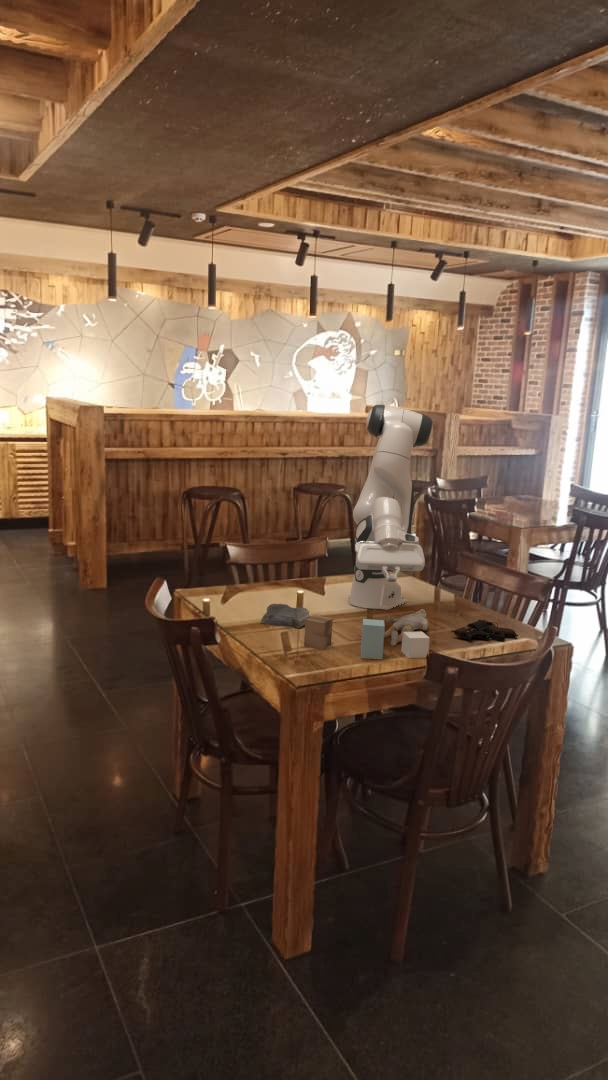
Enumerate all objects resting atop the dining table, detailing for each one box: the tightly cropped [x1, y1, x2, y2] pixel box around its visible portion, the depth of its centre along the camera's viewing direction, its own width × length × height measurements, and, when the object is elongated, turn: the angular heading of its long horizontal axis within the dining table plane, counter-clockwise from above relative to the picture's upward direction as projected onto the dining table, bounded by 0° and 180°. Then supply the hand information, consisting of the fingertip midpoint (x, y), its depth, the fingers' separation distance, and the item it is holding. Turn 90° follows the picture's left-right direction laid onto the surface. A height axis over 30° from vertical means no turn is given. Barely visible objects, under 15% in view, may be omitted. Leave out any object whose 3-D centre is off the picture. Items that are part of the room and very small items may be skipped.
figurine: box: [384, 608, 429, 646], centre depth 248 cm, size 13×6×30 cm
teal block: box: [360, 618, 386, 660], centre depth 223 cm, size 6×6×10 cm
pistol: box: [450, 618, 519, 643], centre depth 248 cm, size 4×19×15 cm
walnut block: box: [303, 614, 334, 650], centre depth 231 cm, size 6×6×8 cm
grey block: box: [401, 631, 431, 659], centre depth 227 cm, size 6×6×6 cm
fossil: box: [260, 603, 310, 630], centre depth 255 cm, size 15×16×4 cm
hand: (391, 580), depth 229 cm, fingers closed
